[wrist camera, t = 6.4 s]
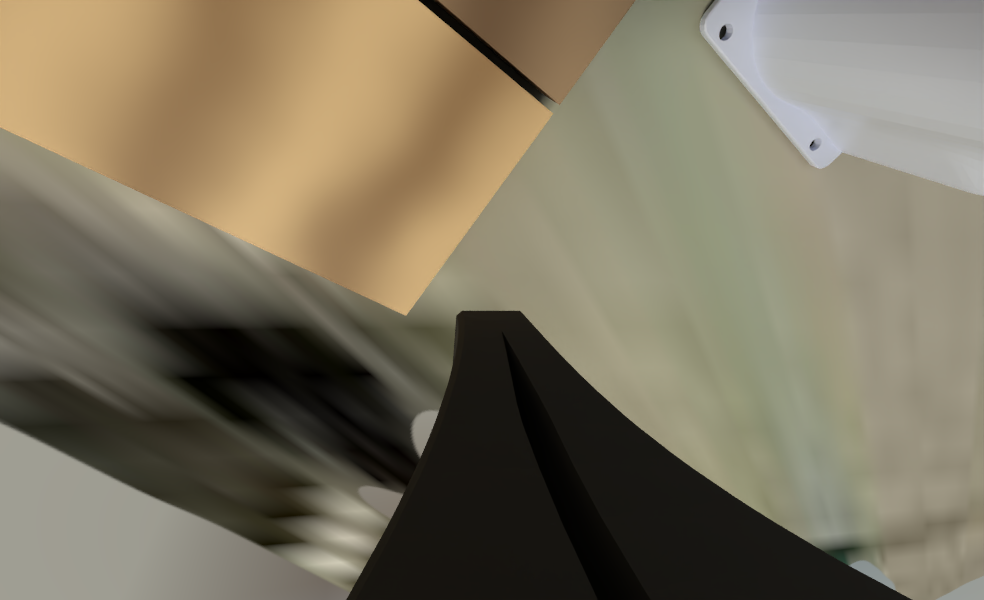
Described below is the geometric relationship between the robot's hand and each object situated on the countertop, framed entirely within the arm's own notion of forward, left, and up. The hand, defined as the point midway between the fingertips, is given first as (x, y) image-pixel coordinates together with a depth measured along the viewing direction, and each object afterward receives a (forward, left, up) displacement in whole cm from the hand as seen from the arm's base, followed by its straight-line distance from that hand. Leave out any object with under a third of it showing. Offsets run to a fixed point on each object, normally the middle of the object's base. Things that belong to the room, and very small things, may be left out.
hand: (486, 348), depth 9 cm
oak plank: (+8, 0, -10) cm, 13 cm away
